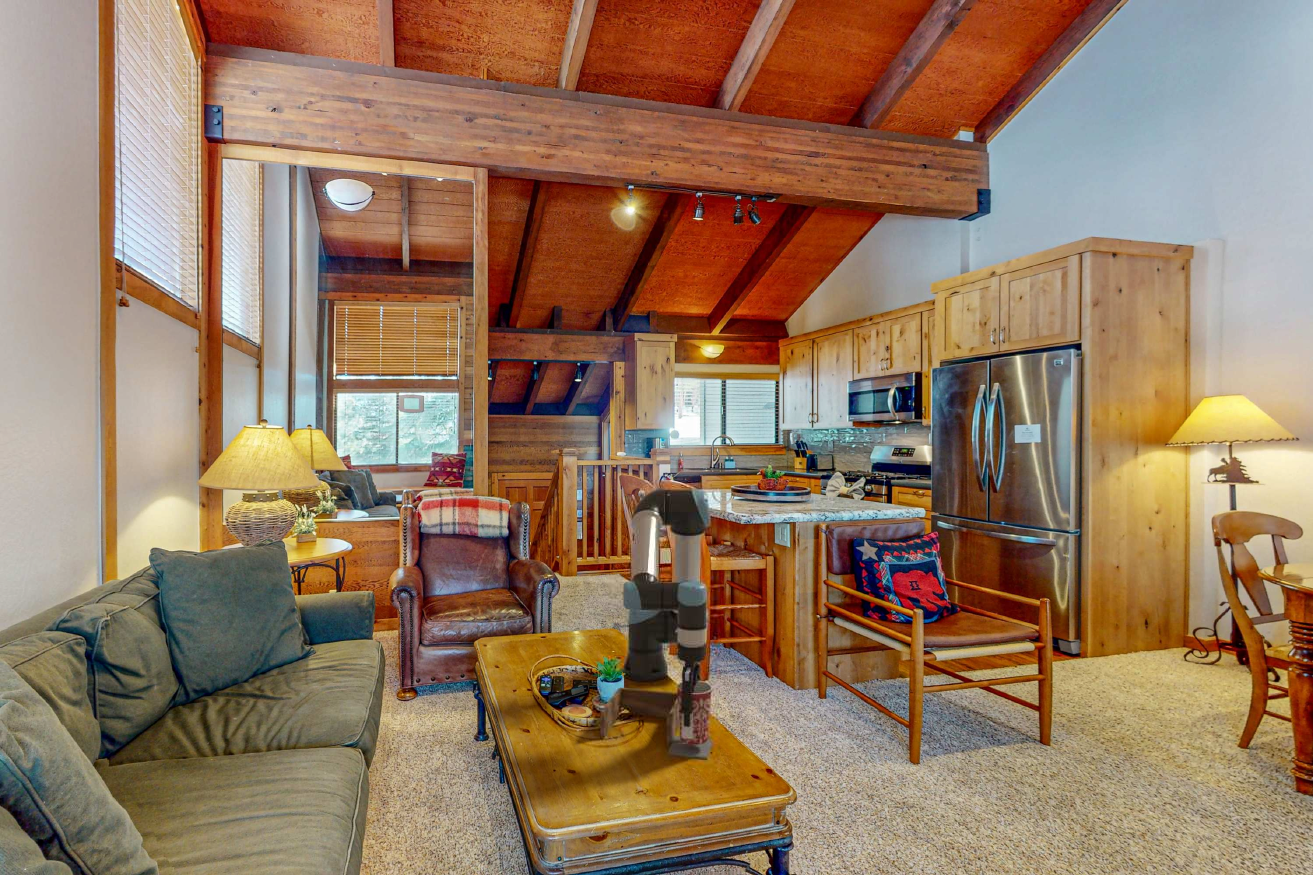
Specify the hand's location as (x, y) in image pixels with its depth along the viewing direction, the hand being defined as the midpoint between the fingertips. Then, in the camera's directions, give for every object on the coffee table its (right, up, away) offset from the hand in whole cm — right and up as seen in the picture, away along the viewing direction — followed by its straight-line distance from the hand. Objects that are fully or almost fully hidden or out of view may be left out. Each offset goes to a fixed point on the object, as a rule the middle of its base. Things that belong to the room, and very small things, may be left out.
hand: (691, 729), depth 177 cm
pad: (0, -5, 0) cm, 5 cm away
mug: (0, -2, +1) cm, 2 cm away
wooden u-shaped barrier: (-13, -5, +12) cm, 18 cm away
